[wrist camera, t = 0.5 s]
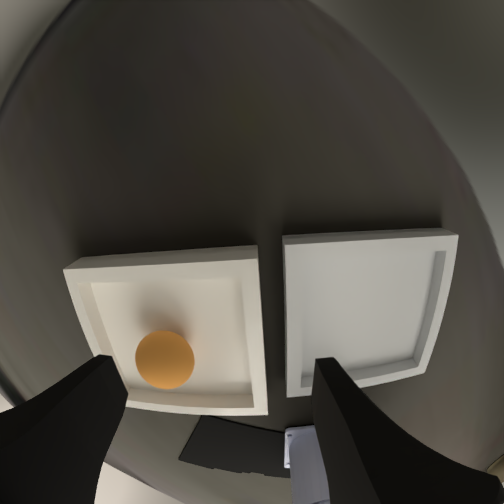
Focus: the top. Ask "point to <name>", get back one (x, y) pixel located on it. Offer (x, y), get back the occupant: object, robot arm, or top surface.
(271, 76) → the top surface
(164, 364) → the ball
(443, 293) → the tray
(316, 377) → the robot arm
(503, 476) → the planter bowl
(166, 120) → the top surface
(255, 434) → the black flat plate
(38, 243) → the top surface
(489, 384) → the top surface
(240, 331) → the dish
